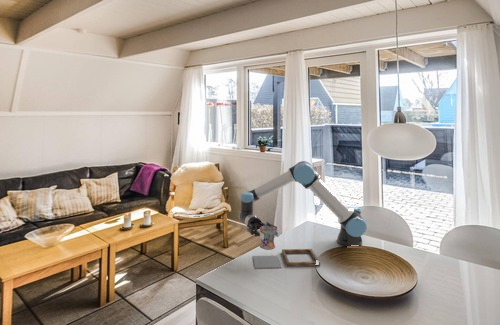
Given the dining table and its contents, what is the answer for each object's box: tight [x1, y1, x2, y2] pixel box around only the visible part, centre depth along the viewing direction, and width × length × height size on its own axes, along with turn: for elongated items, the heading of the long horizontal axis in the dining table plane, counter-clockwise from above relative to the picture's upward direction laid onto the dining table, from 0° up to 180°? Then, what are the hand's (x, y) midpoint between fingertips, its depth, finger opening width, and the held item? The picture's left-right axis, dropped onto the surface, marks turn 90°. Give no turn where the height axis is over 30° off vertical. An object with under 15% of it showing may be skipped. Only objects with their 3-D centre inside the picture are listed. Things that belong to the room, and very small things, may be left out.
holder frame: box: [281, 248, 319, 268], centre depth 163 cm, size 17×17×2 cm
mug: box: [258, 226, 278, 251], centre depth 157 cm, size 12×9×11 cm
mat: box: [252, 255, 282, 270], centre depth 159 cm, size 14×14×1 cm
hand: (270, 235), depth 152 cm, fingers closed on mug, 8 cm apart
